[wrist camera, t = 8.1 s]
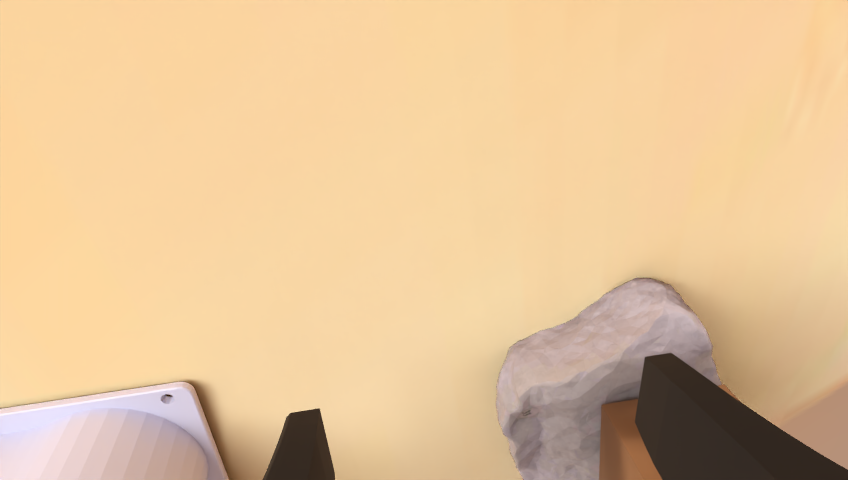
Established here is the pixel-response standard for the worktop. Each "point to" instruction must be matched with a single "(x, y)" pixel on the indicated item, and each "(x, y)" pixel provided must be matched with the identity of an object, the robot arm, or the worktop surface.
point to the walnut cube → (625, 444)
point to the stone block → (590, 375)
